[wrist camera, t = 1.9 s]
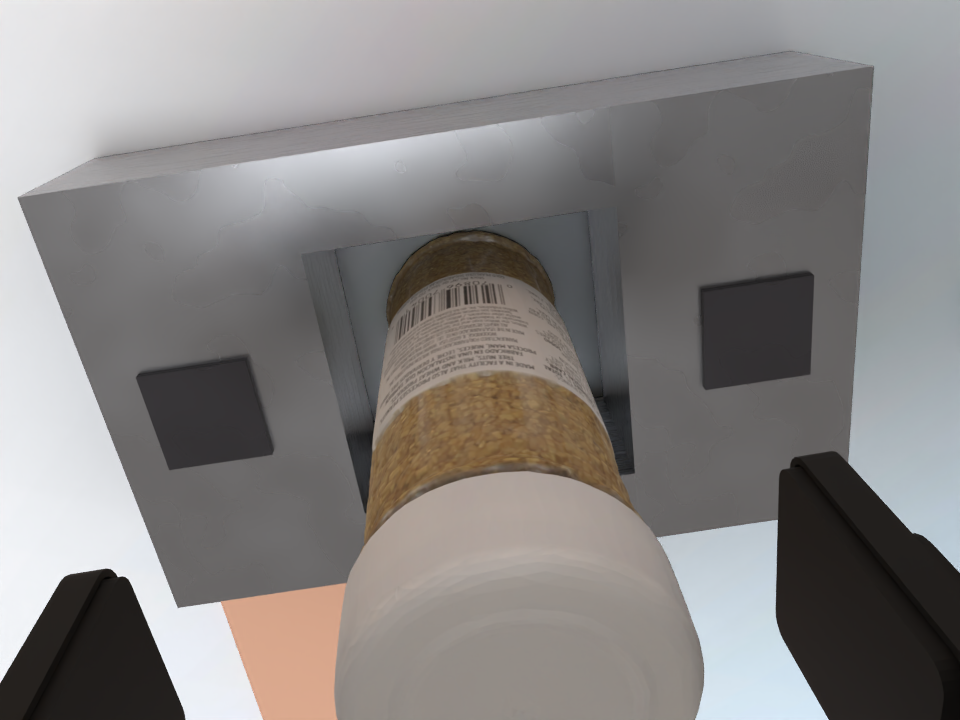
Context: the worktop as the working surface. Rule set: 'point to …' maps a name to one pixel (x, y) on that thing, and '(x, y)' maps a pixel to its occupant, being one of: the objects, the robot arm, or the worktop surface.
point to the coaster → (290, 649)
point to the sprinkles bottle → (502, 520)
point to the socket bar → (451, 207)
